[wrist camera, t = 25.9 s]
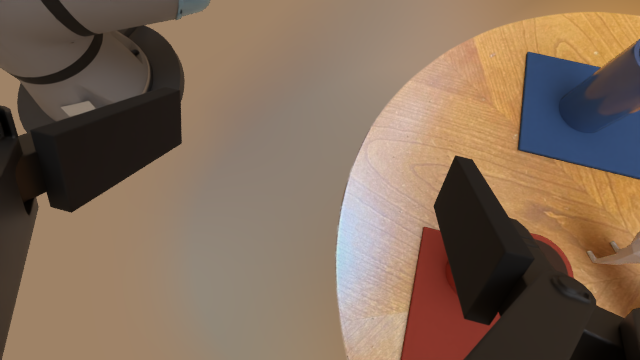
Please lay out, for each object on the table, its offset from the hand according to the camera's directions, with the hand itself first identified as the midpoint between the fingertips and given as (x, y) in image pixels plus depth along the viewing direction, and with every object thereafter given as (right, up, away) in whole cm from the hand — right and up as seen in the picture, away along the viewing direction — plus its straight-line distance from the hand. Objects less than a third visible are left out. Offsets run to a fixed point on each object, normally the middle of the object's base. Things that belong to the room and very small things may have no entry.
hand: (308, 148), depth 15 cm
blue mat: (+37, +8, +29) cm, 48 cm away
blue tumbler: (+37, +8, +29) cm, 47 cm away
